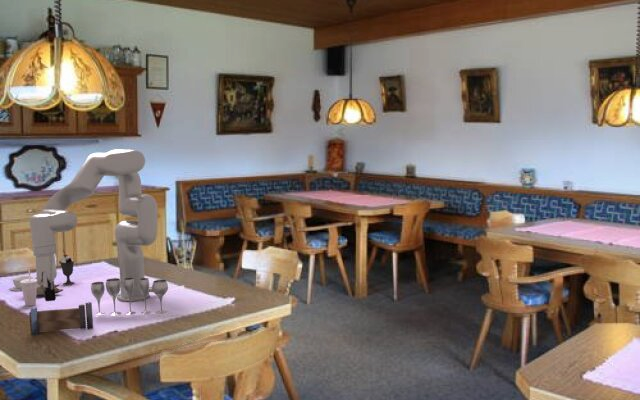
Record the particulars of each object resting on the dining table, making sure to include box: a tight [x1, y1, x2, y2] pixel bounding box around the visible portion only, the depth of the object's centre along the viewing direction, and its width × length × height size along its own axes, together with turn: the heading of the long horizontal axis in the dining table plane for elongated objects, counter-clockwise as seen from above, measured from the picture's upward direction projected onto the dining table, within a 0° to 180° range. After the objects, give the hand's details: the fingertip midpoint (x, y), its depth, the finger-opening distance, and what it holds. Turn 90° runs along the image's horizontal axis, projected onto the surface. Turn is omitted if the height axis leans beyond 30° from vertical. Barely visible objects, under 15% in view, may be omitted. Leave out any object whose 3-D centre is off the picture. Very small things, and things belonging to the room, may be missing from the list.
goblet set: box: [90, 277, 169, 317], centre depth 237 cm, size 28×6×13 cm, turn 93°
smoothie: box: [20, 269, 37, 307], centre depth 250 cm, size 6×6×14 cm
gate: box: [28, 304, 87, 333], centre depth 219 cm, size 18×2×8 cm, turn 102°
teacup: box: [10, 275, 34, 292], centre depth 276 cm, size 10×10×5 cm
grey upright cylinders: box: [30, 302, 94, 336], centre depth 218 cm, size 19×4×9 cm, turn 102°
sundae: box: [58, 249, 75, 286], centre depth 281 cm, size 7×7×15 cm
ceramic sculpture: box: [34, 276, 64, 297], centre depth 264 cm, size 11×9×15 cm
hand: (50, 300), depth 224 cm, fingers closed
